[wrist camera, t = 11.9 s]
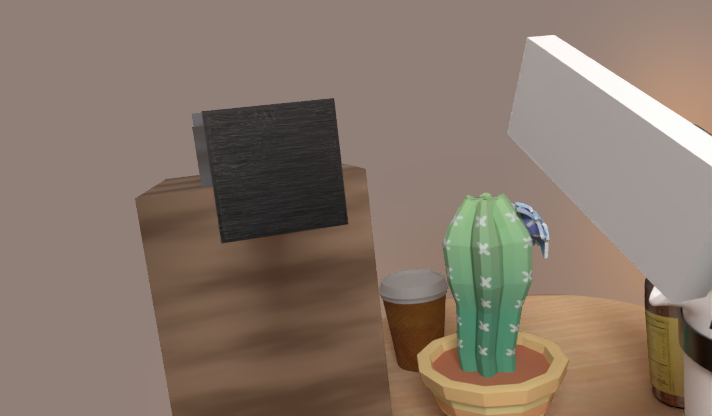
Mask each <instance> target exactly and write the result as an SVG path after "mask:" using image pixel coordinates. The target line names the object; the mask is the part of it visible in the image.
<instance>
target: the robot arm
mask: <svg viewBox="0 0 712 416" xmlns="http://www.w3.org/2000/svg"><path fill="white" fill-rule="evenodd" d="M507 134H508V135H509V136H510V137H511V138H512V139H513V140H514V141H515V142H516V143H517V144H518V146H520V147H521V149H522V150H524V152H525V153H526V154H527V155H528V156H529V157H530V158H531V159H532V160H533V161H534V162H535V163H536V164H537V165H538V166H539V167H540V168H541V169H542V170H543V171H544V172H545V173H546V174H547V175H548V176H549V178H550V179H551V180H552V181H554V183H555V184H556V185H557V186H558V187H559V188H560V189H561V190H562V191H563V192H564V193H565V194H566V195H567V196H568V197H569V198H570V199H571V200H572V201H573V202H574V203H575V204H576V205H577V206H578V207H579V208H580V209H581V211H582V212H583V213H585V215H586V216H587V217H588V218H589V219H590V220H591V221H592V222H593V223H594V224H595V225H596V226H597V227H598V228H599V229H600V230H601V231H602V232H603V233H604V234H605V235H606V236H607V237H608V238H609V239H610V241H611V242H612V243H613V244H614V245H615V246H616V247H617V248H618V249H619V250H620V251H621V252H622V253H623V254H624V255H625V256H626V257H627V258H628V259H629V260H630V261H631V262H632V263H633V264H634V265H635V266H636V267H637V268H638V269H639V271H640V272H641V273H643V275H644V276H645V277H646V278H647V279H648V280H649V281H650V282H651V283H652V284H653V285H654V286H655V287H656V288H657V289H658V290H659V291H660V292H661V293H662V294H663V295H664V296H665V297H666V298H667V299H668V300H669V301H670V303H671V304H675V303H680V302H684V301H689V300H694V299H698V298H703V297H706V296H707V294H708V292H709V291H710V289H711V287H712V135H711V134H710V133H708V132H707V131H705V130H704V129H702V128H701V127H699V126H697V125H695V124H692V123H690V122H689V121H687V120H685V119H684V118H683V117H681V116H679V115H678V114H676V113H675V112H673V111H672V110H670V109H668V108H667V107H665V106H664V105H662V104H661V103H659V102H658V101H656V100H655V99H653V98H651V97H650V96H648V95H647V94H645V93H644V92H642V91H640V90H639V89H637V88H636V87H634V86H633V85H631V84H630V83H628V82H626V81H625V80H623V79H622V78H620V77H619V76H617V75H615V74H614V73H613V72H611V71H609V70H607V69H606V68H605V67H603V66H602V65H600V64H599V63H597V62H595V61H594V60H592V59H591V58H589V57H587V56H586V55H584V54H583V53H581V52H580V51H578V50H577V49H575V48H574V47H572V46H571V45H569V44H567V43H566V42H564V41H563V40H561V39H560V38H558V37H557V36H555V35H551V36H539V37H527V41H526V46H525V51H524V56H523V60H522V66H521V70H520V75H519V80H518V84H517V89H516V94H515V99H514V104H513V108H512V113H511V118H510V123H509V128H508V133H507ZM709 329H712V320H711V323H710V327H709Z"/></svg>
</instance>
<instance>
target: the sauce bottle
mask: <svg viewBox="0 0 712 416" xmlns="http://www.w3.org/2000/svg"><path fill="white" fill-rule="evenodd" d="M653 288H654V285H653V284H652V283H651V282H650V281H649V280H648V279H647V278H646V279H645V316H646V332H647V345H648V357H649V369H650V381H651V383H652V390H653V393H654V395H655V396H656V397H657V398H658V399H659V400H661V401H662V402H664V403H666V404H668V405H670V406H674V407H681V408H685V401H684V353H683V350H682V348H681V346H680V344H679V340H678V306H652V305H651V304H650V303H649V297H650V294H651V292H652V290H653Z"/></svg>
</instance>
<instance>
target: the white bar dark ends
mask: <svg viewBox="0 0 712 416" xmlns="http://www.w3.org/2000/svg"><path fill="white" fill-rule="evenodd" d="M202 118H203V125H204V131H205V138H206V144H207V151H208V158H209V164H210V171H211V178H212V184H213V191H214V197H215V204H216V211H217V217H218V224H219V231H220V237H221V243H228V242H234V241H241V240H248V239H254V238H261V237H268V236H274V235H281V234H288V233H294V232H301V231H308V230H314V229H321V228H328V227H334V226H341V225H348V216H347V207H346V199H345V190H344V181H343V172H342V164H341V155H340V146H339V139H338V138H339V137H338V129H337V120H336V111H335V103H334V98H331V99H321V100H312V101H302V102H291V103H281V104H271V105H262V106H252V107H242V108H232V109H222V110H212V111H202Z"/></svg>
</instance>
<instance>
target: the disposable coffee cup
mask: <svg viewBox="0 0 712 416" xmlns="http://www.w3.org/2000/svg"><path fill="white" fill-rule="evenodd" d="M448 286H449V285H448V283H447V282H446V280H445V277H444V275H443V274H442V273H441V272H438V271H434V270H423V269H416V270H405V271H400V272H395V273H392V274H389V275H387V276H385V277H384V278H382V279H381V286H380V288H379V289H378V290H379V294H380V295H381V298H382V299H383V302H384V306H385V310H386V315H387V319H388V323H389V327H390V331H391V336H392V340H393V344H394V348H395V353H396V357H397V361H398V365H399V366H400V367H401V368H403V369H405V370H409V371H419V366H418V359H417V354H418V353H420V352H421V351H422V350H423V349H424V348H425V347H426V346H427V345H428V344H429V343H431V342H432V341H433V340H436V339H439V338H442V337H444V325H445V324H444V323H445V299H446V293H447V289H448Z"/></svg>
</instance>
